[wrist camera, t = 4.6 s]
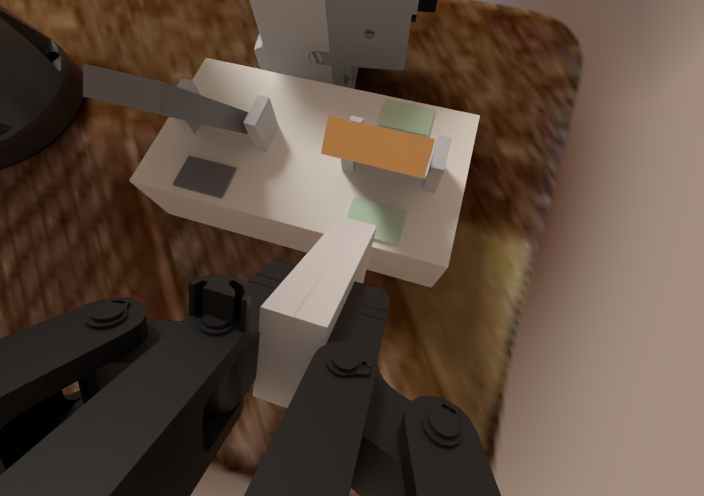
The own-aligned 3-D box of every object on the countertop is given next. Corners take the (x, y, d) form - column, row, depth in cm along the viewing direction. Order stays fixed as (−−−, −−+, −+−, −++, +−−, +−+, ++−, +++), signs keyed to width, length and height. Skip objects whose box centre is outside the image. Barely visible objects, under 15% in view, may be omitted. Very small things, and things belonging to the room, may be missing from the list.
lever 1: (202, 123, 24) (81, 96, 15) (204, 103, 23) (81, 63, 15) (255, 136, 23) (161, 115, 15) (258, 115, 23) (163, 81, 14)
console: (169, 213, 27) (100, 157, 20) (229, 105, 31) (190, 25, 24) (431, 287, 24) (460, 252, 17) (460, 157, 28) (493, 85, 21)
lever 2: (361, 161, 22) (318, 153, 12) (366, 140, 22) (325, 114, 12) (421, 176, 22) (427, 179, 12) (427, 154, 21) (438, 139, 12)
